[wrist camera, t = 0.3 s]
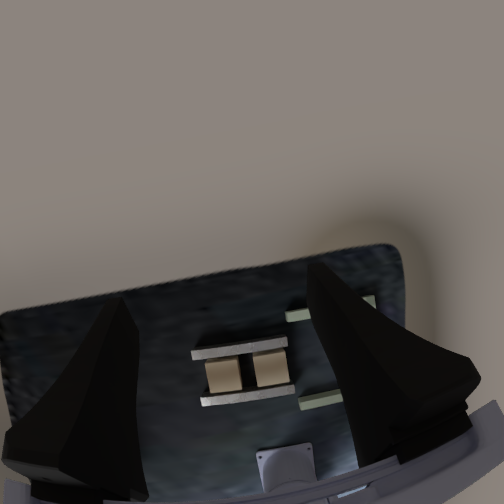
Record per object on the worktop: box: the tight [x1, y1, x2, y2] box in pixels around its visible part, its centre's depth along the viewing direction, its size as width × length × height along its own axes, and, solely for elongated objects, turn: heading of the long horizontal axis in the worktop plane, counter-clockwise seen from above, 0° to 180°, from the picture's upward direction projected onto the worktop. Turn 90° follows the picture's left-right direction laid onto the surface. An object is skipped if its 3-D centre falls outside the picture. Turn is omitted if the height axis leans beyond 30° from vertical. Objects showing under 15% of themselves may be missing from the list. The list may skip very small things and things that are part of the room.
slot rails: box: [191, 334, 295, 406], centre depth 39 cm, size 8×12×2 cm, turn 99°
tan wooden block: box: [253, 348, 290, 387], centre depth 39 cm, size 4×4×3 cm
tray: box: [285, 295, 376, 410], centre depth 39 cm, size 13×12×2 cm
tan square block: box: [205, 355, 243, 393], centre depth 39 cm, size 4×4×3 cm
